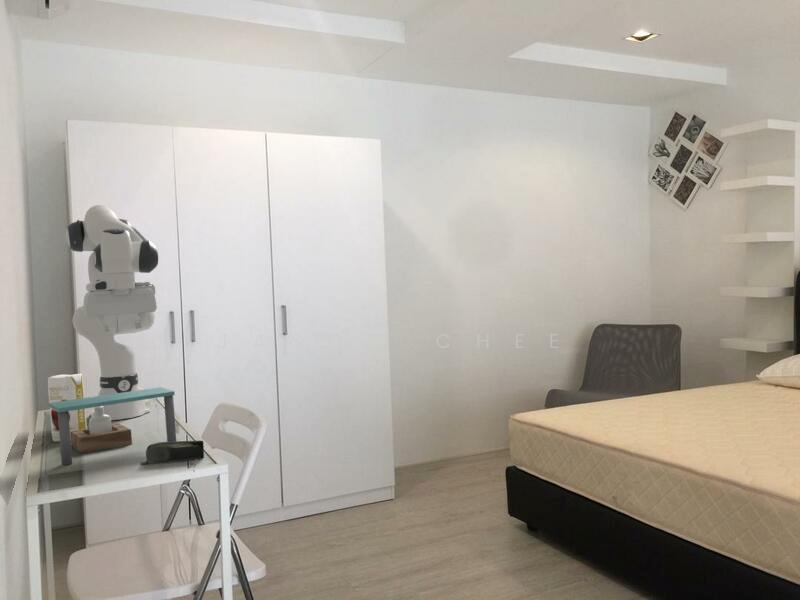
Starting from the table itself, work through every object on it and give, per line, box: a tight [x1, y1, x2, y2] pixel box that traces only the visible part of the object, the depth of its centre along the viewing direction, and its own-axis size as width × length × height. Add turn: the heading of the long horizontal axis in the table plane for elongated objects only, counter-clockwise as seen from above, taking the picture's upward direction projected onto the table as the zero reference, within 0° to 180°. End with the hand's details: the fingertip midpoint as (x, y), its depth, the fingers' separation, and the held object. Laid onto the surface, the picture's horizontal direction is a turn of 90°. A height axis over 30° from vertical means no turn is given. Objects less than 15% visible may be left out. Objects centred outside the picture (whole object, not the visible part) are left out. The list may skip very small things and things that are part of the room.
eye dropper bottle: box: [88, 406, 112, 435], centre depth 194 cm, size 4×6×12 cm
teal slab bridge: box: [48, 386, 177, 466], centre depth 185 cm, size 12×29×14 cm, turn 127°
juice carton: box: [47, 373, 88, 443], centre depth 203 cm, size 8×9×19 cm
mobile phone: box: [139, 440, 205, 466], centre depth 171 cm, size 5×3×15 cm
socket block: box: [70, 422, 133, 454], centre depth 194 cm, size 13×13×4 cm
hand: (122, 330), depth 205 cm, fingers open, 8 cm apart
